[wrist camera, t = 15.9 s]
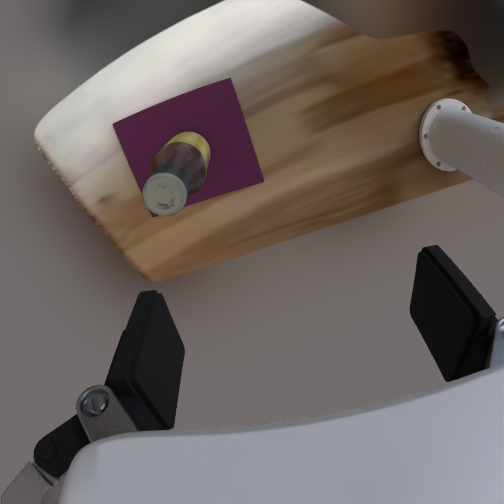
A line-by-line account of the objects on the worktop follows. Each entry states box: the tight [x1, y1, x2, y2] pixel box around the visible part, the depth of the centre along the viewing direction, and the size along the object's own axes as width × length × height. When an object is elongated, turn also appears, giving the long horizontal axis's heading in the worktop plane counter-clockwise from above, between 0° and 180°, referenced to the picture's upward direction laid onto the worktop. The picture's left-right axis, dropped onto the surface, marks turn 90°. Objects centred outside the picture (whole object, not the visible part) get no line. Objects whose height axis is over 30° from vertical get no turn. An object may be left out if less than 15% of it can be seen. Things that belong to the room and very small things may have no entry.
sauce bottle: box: [142, 132, 210, 216], centre depth 35 cm, size 6×6×20 cm
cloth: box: [113, 78, 264, 217], centre depth 44 cm, size 18×16×1 cm
